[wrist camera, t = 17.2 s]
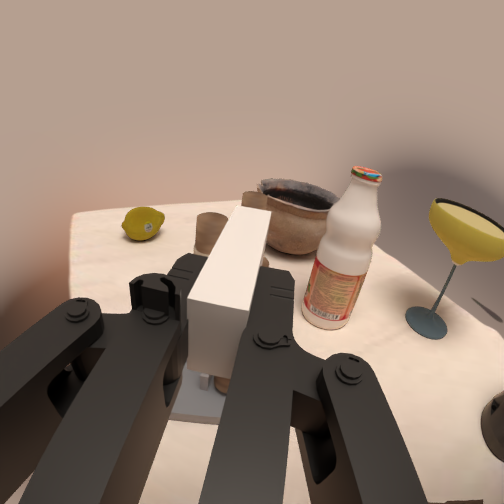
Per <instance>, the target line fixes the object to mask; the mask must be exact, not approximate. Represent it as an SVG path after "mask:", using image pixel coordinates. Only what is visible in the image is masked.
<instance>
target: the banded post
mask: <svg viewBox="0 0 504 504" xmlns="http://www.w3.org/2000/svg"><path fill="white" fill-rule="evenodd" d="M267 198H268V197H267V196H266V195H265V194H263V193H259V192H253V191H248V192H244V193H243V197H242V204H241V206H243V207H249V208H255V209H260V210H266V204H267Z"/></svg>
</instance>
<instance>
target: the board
mask: <svg viewBox="0 0 504 504" xmlns="http://www.w3.org/2000/svg"><path fill="white" fill-rule="evenodd" d="M182 376H183V378H182V385H181V387H180V390H179V393H178V395H177V398H176V401H175V403H174V406H173V409H172V411H171V414H170V417H169V420H177V421H185V422H194V423H204V424H216V425H219V422H220V418H221V414H222V410H223V406H224V402H225V398H226V394H227V393H223V392H221V391H219V390H218V389H217V388H216V387H215V385H214V375H209V374H205V373H201V372H197V371H193V370H189V369H187V360H186V363H185V365H184V368H183V370H182Z"/></svg>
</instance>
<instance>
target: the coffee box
mask: <svg viewBox="0 0 504 504" xmlns="http://www.w3.org/2000/svg"><path fill="white" fill-rule="evenodd" d="M428 504H483V500H469V501H447V502H446V503H429V502H428Z"/></svg>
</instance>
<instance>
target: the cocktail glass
mask: <svg viewBox="0 0 504 504" xmlns="http://www.w3.org/2000/svg"><path fill="white" fill-rule="evenodd" d="M429 221H430V223H431V226H432V228H433V230H434V231H435V233H436V234H437V235H438V237H439V238H440V239H441V240H442V242H443V243H444V244H445V245H446V246H447V248H448V249H449V251H450V254H451V259H452V262H453V263H454V266H453V268H452V270H451V272H450V275H449V277H448V279H447V281H446V283H445V285H444V287H443V289H442V291H441V293H440V295H439V297H438V299H437V301H436V303H435V304H434V306H433V308H432V309H431V310H429V309H427V308H424V307H411V308H409V309H408V310H407V312H406V320H407V322H408V324H409V325H410V326H411V328H412V329H413V330H415V331H416V332H417V333H418V334H420V335H422V336H424V337H426V338H430V339H441V338H443V337H444V336H445V335H446V334H447V326H446V324H445V322H444V321H443V319H442V318H441V317H440V316H439V315H437V314H436V313H435V311H436V308H437V306H438V304H439V302H440V300H441V298H442V296H443V294H444V292H445V289H446V287H447V285H448V283H449V281H450V279H451V277H452V275H453V272H454V270H455V268H456V266H460V265H462V264H464V263H466V262H467V261H483V262H484V261H485V262H488V261H496V260H499V259H501V258H503V257H504V228H503V227H502V226H501V225H500V224H498V223H497V222H495V221H494V220H492V219H491V218H489V217H487V216H485V215H484V214H482V213H480V212H478V211H476V210H474V209H472V208H470V207H468V206H465V205H463V204H460V203H458V202H455V201H451V200H448V199H442V198H437V199H435V200H434V201H433V203H432V205H431V208H430V212H429Z"/></svg>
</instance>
